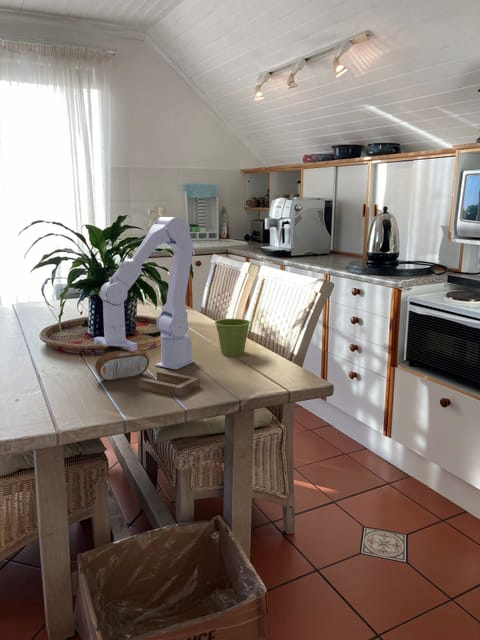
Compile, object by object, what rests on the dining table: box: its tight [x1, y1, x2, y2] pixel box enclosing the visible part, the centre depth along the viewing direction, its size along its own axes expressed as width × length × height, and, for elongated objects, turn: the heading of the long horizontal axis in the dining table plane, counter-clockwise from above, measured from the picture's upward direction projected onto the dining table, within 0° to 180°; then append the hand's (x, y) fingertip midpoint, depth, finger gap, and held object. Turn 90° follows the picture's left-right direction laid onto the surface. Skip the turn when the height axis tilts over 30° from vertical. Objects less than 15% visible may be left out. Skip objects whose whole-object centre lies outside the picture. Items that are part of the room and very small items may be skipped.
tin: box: [94, 348, 150, 381], centre depth 147 cm, size 15×3×8 cm, turn 121°
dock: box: [138, 370, 201, 398], centre depth 140 cm, size 9×14×2 cm, turn 60°
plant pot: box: [213, 318, 252, 357], centre depth 171 cm, size 12×12×11 cm
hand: (116, 371), depth 149 cm, fingers closed
